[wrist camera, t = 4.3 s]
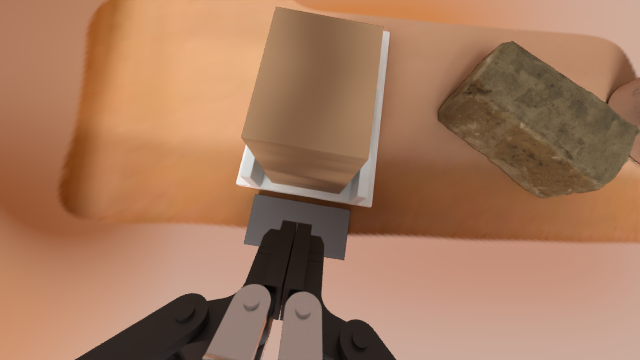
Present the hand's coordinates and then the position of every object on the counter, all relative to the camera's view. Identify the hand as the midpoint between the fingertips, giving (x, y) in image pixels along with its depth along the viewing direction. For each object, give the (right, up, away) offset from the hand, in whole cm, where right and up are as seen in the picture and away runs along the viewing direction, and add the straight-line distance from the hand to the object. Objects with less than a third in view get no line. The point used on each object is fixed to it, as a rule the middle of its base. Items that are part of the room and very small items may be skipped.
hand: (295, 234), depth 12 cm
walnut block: (+1, +5, +6) cm, 8 cm away
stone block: (+17, +6, +8) cm, 20 cm away
